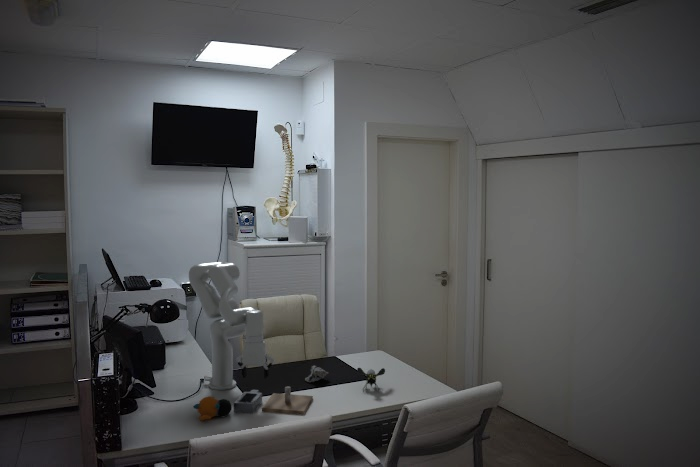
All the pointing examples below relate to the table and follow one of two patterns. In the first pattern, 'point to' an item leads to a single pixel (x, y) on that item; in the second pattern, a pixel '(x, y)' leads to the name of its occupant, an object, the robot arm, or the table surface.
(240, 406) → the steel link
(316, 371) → the mineral specimen
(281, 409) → the keeper board
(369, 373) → the insect
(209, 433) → the table surface
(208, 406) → the toy
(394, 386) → the table surface
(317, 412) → the table surface
